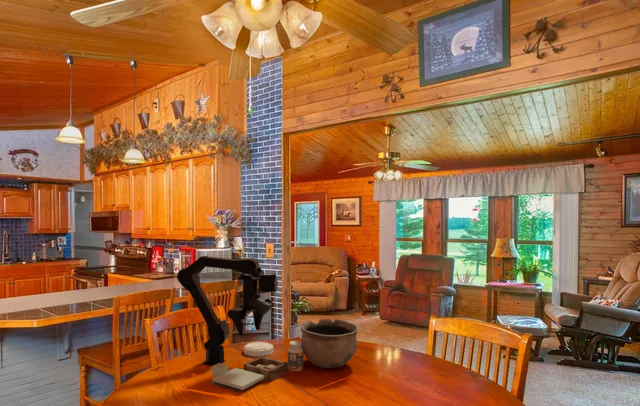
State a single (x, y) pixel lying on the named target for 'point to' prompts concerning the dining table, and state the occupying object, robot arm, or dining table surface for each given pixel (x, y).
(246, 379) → the lid
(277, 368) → the tub
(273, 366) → the block
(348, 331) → the ceramic bowl
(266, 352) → the mooncake
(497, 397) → the dining table surface
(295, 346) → the pill bottle
